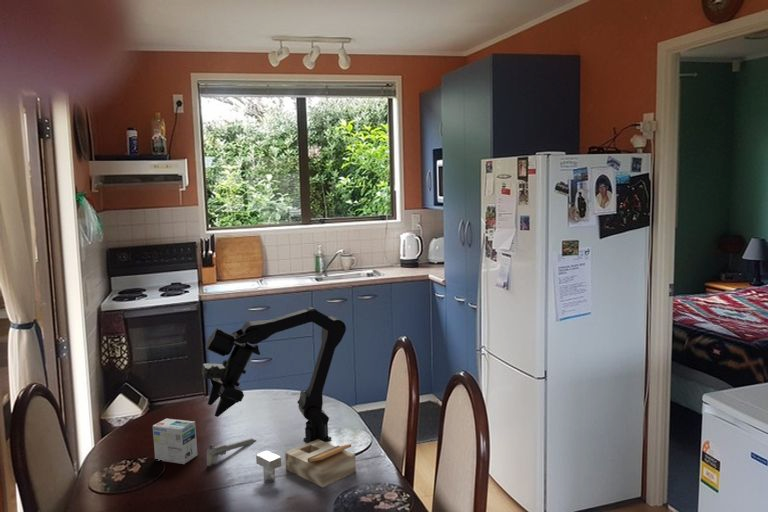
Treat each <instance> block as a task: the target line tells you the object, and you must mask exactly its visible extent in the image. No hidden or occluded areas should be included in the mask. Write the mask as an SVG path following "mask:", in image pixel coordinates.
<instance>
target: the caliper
mask: <svg viewBox="0 0 768 512" xmlns="http://www.w3.org/2000/svg"><path fill="white" fill-rule="evenodd" d="M256 441H257V440H256V439H255V438H252V437H251V438H247V439H244V440H240V441H237V442H233V443H230V444H221V445H217V446H216V444H214V443H212V444H209V447H208V448H207V449H206V450H207V451H206V466H207V467H212V466H213V465H216V464H217V463H216V462H217V461H218V456H223V455H226V454H227V452H228V451H232V450H235V449H239V448H241V447H246V446H249V445H252V444H254V442H256Z"/></svg>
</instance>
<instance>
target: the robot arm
mask: <svg viewBox="0 0 768 512" xmlns="http://www.w3.org/2000/svg"><path fill="white" fill-rule="evenodd" d="M308 323H313V324H315V325H317V326H319V327H320V328H321V332H320V333H321V335H320V336H321V337H320V338H321V344H320V348H319V352H318V355H317V358H316V361H315V362H316V363H315V366H314V369H313V372H312V375H311V377H310V383H309V384H308V388H307V389H306V390H301V391H300V395H299V398H298V400H297V402H296V403H297V404H298V405H297V406H298V409H299V411H300V413H301V414H302V416H303V418H304V419H306V420H307V421H306V422H305V429H304V431H305V432H304V433H305V434H304V435H305V437H304V438H303V441H305V442H306V443H310V442H312V441H315V440H317V439H319V440H321V441H324V442H326V443H327V442H329V441H330V440H332V437H331V436H329V424H328V423H329V420H330V417H329V416H328V414H326V413H325V411H324V410H323V404H324V402H323V391H324V388H325V385H326V381H327V377H328V374H329V371H330V368H331V364H332V362H333V361H332V360H333V358H334V354H335V351H336V348H337V347H338V346H339V344H340V343H341V342H342V340H343V338H344V336H345V333H346V330H347V326H346V324H345V322H343V320H342V319H340V318H338V317H337V316H332V315H330V316H327V315H326V314H325V313H322V312H320V311H319V310H318V309H316V308H314V307H312V306H307V307H306V308H304V309H301V310H298V311H294V312H292V313H287V314H285V315H281V316H278V317H275V318H272V319H260V320H259V319H258V320H250V321H247V322H245V323H244V324H243V326H242V327H240V328H239V329H237V330H236V331H234V332H232V333H229V332H227V331H224V330H222V328H219V327H216V328H215V330H214V331H212V334H211V335H210V336H209V337H208V339H207V341H206V344H205V350H207V351H210V352H212V353H214V354H216V355H219V356H222V357H225V356H228V355H229V356H228V358H227V359H224V360H223V361H222V363H202V368H201V370H202V371H201V375H202V376H203V379H206V380H209V381H210V385H211V387H210V391H209V397H208V401H207V405H208V406H212V405H213V404H214V403H215V402H216V401H217V400H218V399H219V401H218V404H217V407H216V409H215V413H214V417H215V418H216V417H217V418H218V417H221V415H222V414H223V413H225V412H227V410H228V409H230V408H231V407H232V406H234V405H235V404H238V403H239V402H242V401H243V398H244V396H245V394H244V391H243V390H242V388H241V387H240V384H241V383H240V382H239V381H240V379H241V377H242V376H243V374H244V375H245V374H246V372H247V370H246V367H247V365H248V363H249V362H250V360H251V358H252V355H253V354H255V355H258V356H260V355H261V352H260V350H259V345H258V344H259V343H261V342H263V341H265V340H268V338H270V337H271V336H273V335H275V334H277V333H280V332H283V331H286V330H290V329H292V328H296V327H300V326H302V325H305V324H308Z"/></svg>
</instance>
